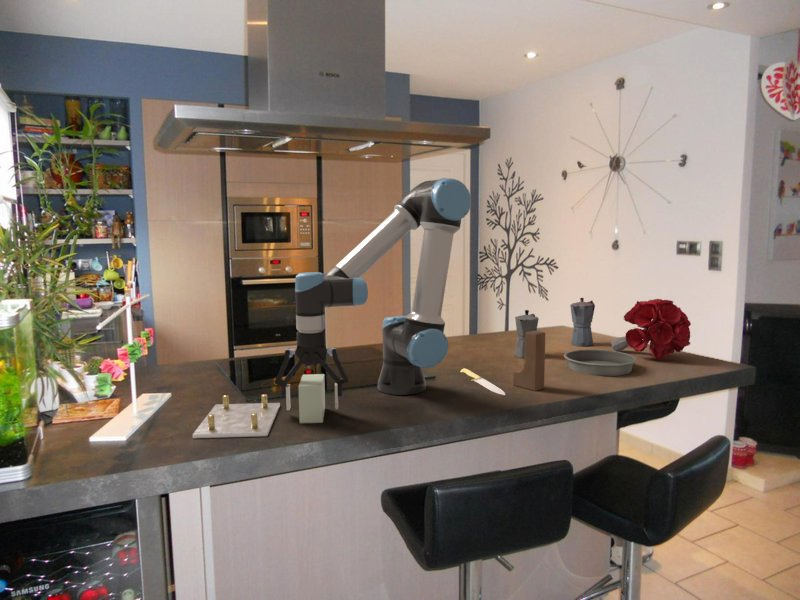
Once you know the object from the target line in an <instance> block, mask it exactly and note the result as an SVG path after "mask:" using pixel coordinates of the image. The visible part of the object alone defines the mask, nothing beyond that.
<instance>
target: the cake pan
mask: <svg viewBox="0 0 800 600" xmlns="http://www.w3.org/2000/svg"><path fill="white" fill-rule="evenodd" d="M563 357H564V359H566V360H567V361H566V362H567V365H568V368H569V369H570V370H573V371H575V372H577V373H580V374H581V373H582V374H585V375H593V376H604V377H605V376H607V377H608V376H611V377H612V376H623V375H627V374H630V373H631V372H632V371H633V367H634V364H635V363H636V362H637V361H638V358H637V357H636V356H635V355H632V354H629V353H625V352H623V351H619V352H617V351H615V350H608V349H595V348H594V349H590V348H589V349H587V348H586V349H576V350H571V351H567V352H565V353H564V354H563Z"/></svg>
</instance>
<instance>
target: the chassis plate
mask: <svg viewBox="0 0 800 600" xmlns="http://www.w3.org/2000/svg"><path fill="white" fill-rule="evenodd" d="M260 395H261V402H260V403H259V402H258V403H257V402H255V403H230V397H229V396H230V395H227V394H224V395H222V404H219V403H218V404H217V403H216V404H215V405H214V406H213V407H212V408H211V410H210V411H209V413H208V414H207V415H206V416H205V418H204V419H203V420H202V421H201V422H200V424H199V425H198V427H197V428H196V429H195V430H194V432H193V433H192V439H213V438H214V439H219V438H223V439H224V438H247V437H248V438H251V437H253V438H254V437H255V438H256V437H268V436H269V433H270V432H271V429H272V426H273V423H275V420H276V416H277V414H278V412H279V410H280V406H281V403H280V402H268V394H267V393H264V394H260Z"/></svg>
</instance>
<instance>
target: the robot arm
mask: <svg viewBox="0 0 800 600" xmlns="http://www.w3.org/2000/svg"><path fill="white" fill-rule="evenodd" d="M471 206H472V197H471V193H470V191H469V189H468V188H467V186H466V185H465V184H464V183H463V182H462V181H460V180H458V179H455V178H446V177H442V178H439V179H434V180H433V179H431V180H425V181H422V182H420V183H418V184H417V185H415V187H413V188H412V189H411V190H410V191H409V192H408V193H407V194H405V195H404V197H403V198H402V199H400V201H399V202H397V203H396V204H395V205H394V206H393V211H392V213H390V215H387V217H386V218H385V219H384V220H383V221H382V222H381V223H380V224H379V225H378V226H377V227H375V228H374V229H373V230H371V232H370V233H369V234H368V235H367V236H366V237H365V238H364V239H363V240H362V241H360V242H359V243H358V245H356V246H355V247H354V248H353V249H352V250H351V251H350V252H349V253H348V254H346V256H344V258H342V259H341V260H340V261H339V262H338V263H337V264H336V265H335V266H334V267H333V268H331V269H330V270H329V271H328V272H327V273H322V272H320V271H319V272H317V271H316V272H313V271H312V272H311V271H310V272H309V271H307V272H306V271H305V272H299V273H298V274H296V276H295V283H294V286H295V287H294V293H295V294H294V295H295V297H294V298H295V313H296V314H295V321H296V322H295V325H296V326H295V327H296V330H297V332H296V349H291V348H290V347H287V348H285V350H284V359H283V361H282V364H281V366H280V368H279V370H278V373H277V375H276V377H275V379H274V384H275V385H279V386H280V387H281V397H282V398H285V400H286V403H285V404H286V411H290V409H291V384H290V383H289V382H290V380H291V379H292V378H293V377H294V376H295V374H296V373H297V372H298V370H299V369H300V368H301V366H302V365H305V366H311V365H312V366H318V365H320V366H321V367H322V368H323V369H324V370H325V371H326V372H327V374H328V375H329V376H330V377H331V378H332V380H333V381H334V409H335V410H338V409H339V397H342V395H343V384H345V383H346V384H347V383H349V376H348V373H347V371H346V370H345V367H344V366H343V364H342V362H341V360H340V357H339V354H338V349H337V347H336V346H334V347H332V348H327V347H326V331H324V330H325V328H326V326H325V325H326V323H325V322H326V320H325V319H326V317H325V316H326V315H325V308H334V307H335V308H336V307H355V306H363V305H365V304H366V302H367V300H368V297H369V289H368V288H369V287H368V283H367V282H366V280H365V279H364V278H362V277H363V275H365V274H366V273H367V271H369V270H370V269H371V268H372V267H373V266H374V265H375V264H376V263H377V262H378V261H380V260H381V258H383V257H384V256H385V255H386V254H387V253H388V252H389V251H390V250H391V249H392V248H393V247H394V246H395V245H396V244H397V243H398V242H399V241H401V240H402V238H404V237H405V236H406V235H407V234H408V233H409V232H410V231H411V230H412V231H416V230H417V229H418V228H419V227H420V226H421V227H422V229H423V235H422V240H421V241H422V242H421V248H420V253H419V254H420V256H419V261H418V267H417V274H416V275H417V276H416V282H415V288H414V294H413V295H414V296H413V301H412V308H411V311H410V313H408V314H407V315H399V316H397V315H395V316H387V317H385V318H384V319H383V321H382V328H381V330H382V367H381V370H380V374H379V377H378V380H377V391H380V392H381V393H384V394H387V395H395V396H396V395H398V396H406V395H416V394H419V393H422V392H424V391H425V390H426V389H427V388H426V387H427V382H426V379H425V374H424V371H423V369H422V368H424V369H429V368H434V367H436V366H438V365H439V364H440V363H441V362H442V361H443V360H444V359H445V358H446V356H447V354H448V351H449V340H448V338H447V337H446V334H445V325H446V322H445V321H444V319H443V317H442V311H443V306H444V305H443V304H444V298H445V293H446V285H447V279H448V272H449V268H450V267H449V266H450V260H451V252H452V247H453V241H454V235H455V234H456V233H457V232H458V231H460V229H461V226H462V225H461V224H462V219H463V218H465V217H466V216H467V215H468V214H469V212H470V210H471ZM327 354H329V357H331V358H332V360H333V362H334V364H335V367H336V368H337V369H338V371H339V374H340V376H341V377H340V376H339V375H338V374H337V373H338V372H336V371H335V370H334V369H333V368H332V366H331V364H329V363H328V362H327V361H328V360H326V359H325V357H326V355H327ZM293 355H295V356H296V357H297V358H298V360H297V361H296V363H295V364H294V366H292V368H291V369H290V371H289V372H288V373H287V375H286V376H285V377H284V378H283V379H282V377H283V375H284V373H285V370H286V368H287V365H288V363H289V360H290V358H293Z"/></svg>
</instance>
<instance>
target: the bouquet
mask: <svg viewBox="0 0 800 600" xmlns="http://www.w3.org/2000/svg"><path fill="white" fill-rule="evenodd" d="M623 320H624V321H625V323H626V322H627V323H630V324H631V325H636V326H637V327H632V328H631V329H630V328H629V329H628V330H627V331H626V332H625V336H620V337H616V338H614V339H612V340H611V343H610V344H611V346H612V349H613V351H617V352H623V351H624V350H625V349H627V348H628V347H630V348H631V349H633V350H634V351H635V352H639V353H640V352H643V351H644V350H645V349H646V348H647V347H648V345H649V351H650V353H651V355H652V356H653V357H654V358H655V359H656V360H659V361H660V360H663V359H664V358H665V357H667V356H669V355H670V354H671V355H672V354H674V353H675V352H677V353H680V352H683V350H684V348H685V347H688V346H690V345H691V342H690V339H691V329H690V326H691V325H692V324H691V321H690V320H689V317H688V315H687V314H686V313H685V312H683V310H682V308H681V307H679V306H677V305H676V304H674V301H673V300H669V299H662V298H655V299H649V300H647V301H646V300H644V301H643V300H641V301H639V300H637V301H636V303H635V304H634V306H633V307H631V309H630V310H629V311H627V312H625V314H624V315H623Z"/></svg>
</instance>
